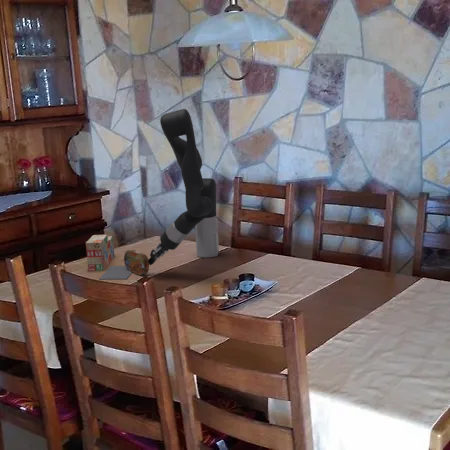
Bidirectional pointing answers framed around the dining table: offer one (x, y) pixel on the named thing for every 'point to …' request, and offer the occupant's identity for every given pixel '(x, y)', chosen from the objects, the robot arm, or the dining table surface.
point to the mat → (116, 273)
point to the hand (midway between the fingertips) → (149, 263)
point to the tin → (136, 262)
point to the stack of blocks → (99, 252)
